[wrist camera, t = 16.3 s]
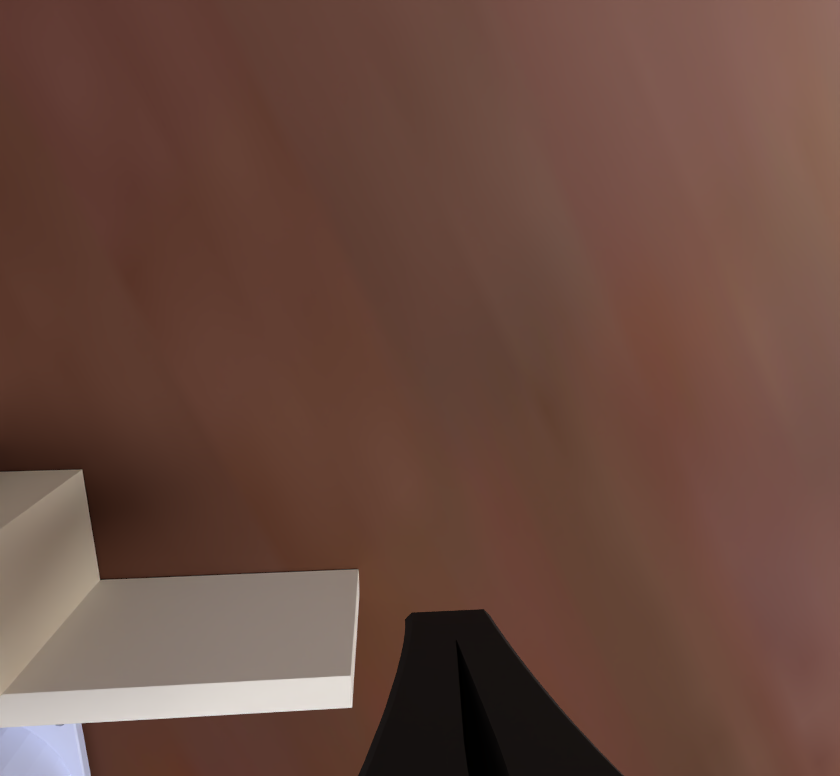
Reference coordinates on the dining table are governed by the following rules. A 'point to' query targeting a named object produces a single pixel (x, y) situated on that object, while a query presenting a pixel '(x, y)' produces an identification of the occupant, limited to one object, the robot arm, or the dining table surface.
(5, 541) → the wall shelf
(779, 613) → the dining table surface
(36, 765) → the robot arm
